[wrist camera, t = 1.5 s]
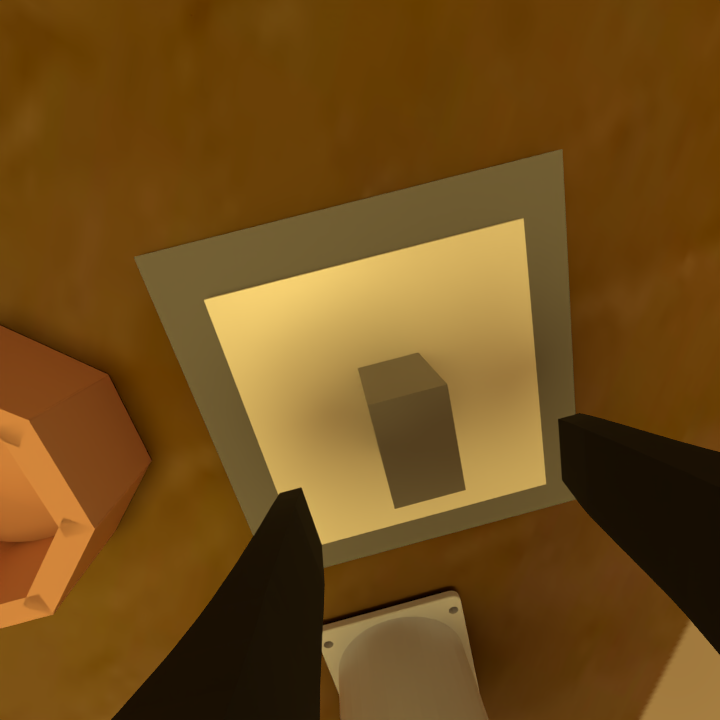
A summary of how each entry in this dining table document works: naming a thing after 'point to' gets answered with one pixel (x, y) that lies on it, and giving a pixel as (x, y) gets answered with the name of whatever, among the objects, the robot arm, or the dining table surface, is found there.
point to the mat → (353, 242)
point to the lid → (393, 379)
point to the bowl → (57, 473)
